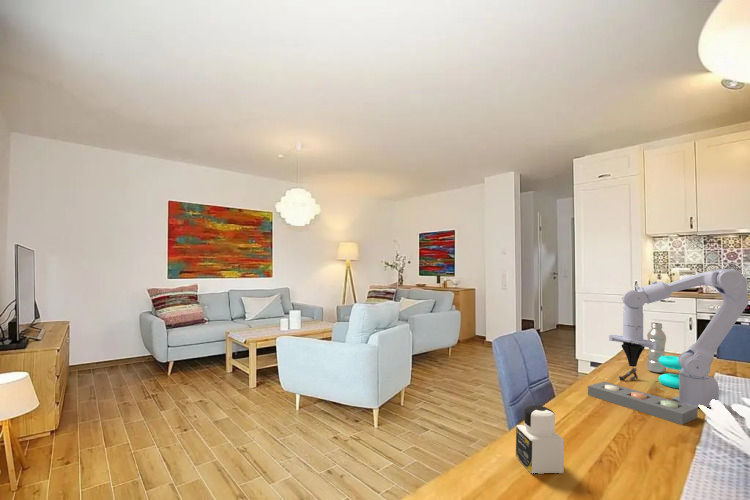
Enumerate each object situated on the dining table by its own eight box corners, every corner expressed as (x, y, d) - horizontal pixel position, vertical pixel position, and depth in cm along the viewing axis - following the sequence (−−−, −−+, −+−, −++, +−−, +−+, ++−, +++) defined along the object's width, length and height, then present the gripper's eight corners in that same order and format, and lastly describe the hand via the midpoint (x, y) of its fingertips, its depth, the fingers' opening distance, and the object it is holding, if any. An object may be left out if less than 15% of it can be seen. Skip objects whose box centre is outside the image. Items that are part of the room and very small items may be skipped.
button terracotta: (649, 403, 118) (649, 395, 118) (642, 406, 116) (642, 397, 116) (634, 399, 121) (634, 391, 121) (628, 401, 119) (628, 393, 119)
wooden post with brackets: (641, 377, 145) (637, 367, 145) (626, 387, 143) (623, 377, 143) (636, 376, 147) (633, 365, 147) (622, 386, 145) (618, 375, 144)
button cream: (621, 395, 124) (621, 387, 125) (614, 397, 122) (615, 389, 122) (608, 391, 128) (608, 383, 128) (602, 393, 126) (602, 385, 126)
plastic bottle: (662, 370, 159) (662, 322, 159) (669, 375, 152) (669, 325, 153) (644, 369, 161) (644, 321, 161) (649, 373, 154) (650, 323, 155)
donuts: (687, 356, 142) (698, 363, 133) (687, 383, 142) (698, 392, 133) (655, 353, 146) (663, 359, 137) (654, 379, 146) (663, 387, 137)
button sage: (680, 413, 111) (680, 403, 111) (674, 415, 109) (674, 406, 109) (664, 408, 114) (664, 399, 114) (657, 410, 112) (657, 401, 112)
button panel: (697, 417, 110) (697, 407, 110) (682, 424, 105) (682, 413, 105) (604, 390, 132) (604, 381, 132) (587, 394, 127) (587, 385, 127)
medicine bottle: (515, 456, 85) (516, 402, 85) (545, 456, 86) (546, 402, 86) (530, 474, 78) (531, 415, 78) (564, 474, 79) (565, 415, 79)
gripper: (604, 323, 134) (604, 362, 133) (651, 330, 121) (651, 373, 121) (615, 321, 137) (614, 359, 137) (662, 328, 125) (661, 370, 125)
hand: (632, 366), depth 129 cm, fingers closed
